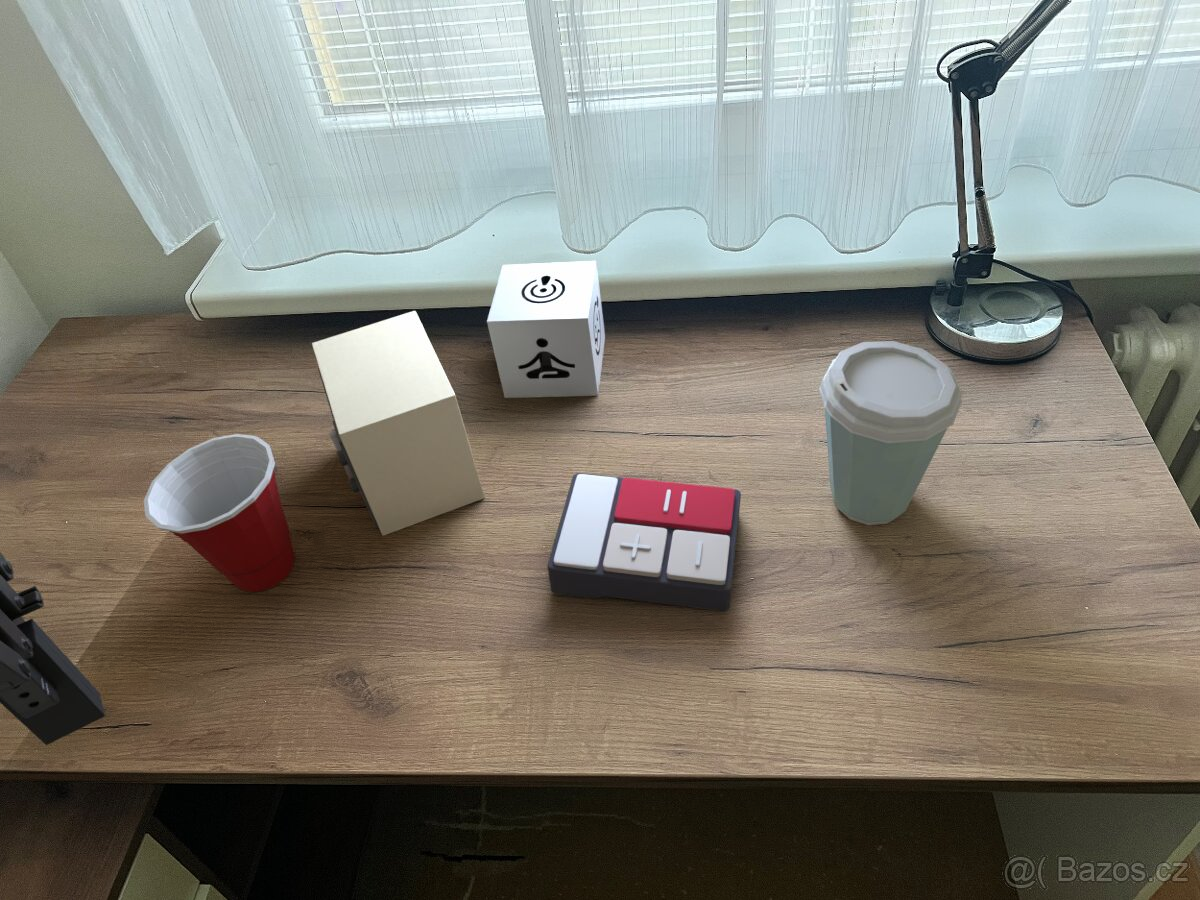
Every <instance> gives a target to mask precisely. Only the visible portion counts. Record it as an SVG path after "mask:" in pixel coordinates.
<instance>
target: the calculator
mask: <svg viewBox="0 0 1200 900" xmlns="http://www.w3.org/2000/svg"><path fill="white" fill-rule="evenodd" d="M741 493H742V492H741V491H740V490H739V489H736V488H730V487H722V486H712V485H702V484H693V483H683V482H675V481H664V480H653V479H645V478H635V477H620V476H611V475H603V474H602V475H601V474H593V473H582V472H575V473H574V474H573V475H572V478H571V482H570V485H569V488H568V492H567V495H566V500H565V503H564V506H563V510H562V513H561V517H560V520H559V523H558V527H557V531H556V534H555V538H554V541H553V544H552V547H551V552H550V555H549V559H548V563H547V573H548V580H549V585H550V591H551V593H553V594H554V595H560V596H561V595H562V596H568V597H577V598H584V599H590V600H591V599H592V600H594V599H597V598H602V597H607V598H615V599H622V600H623V599H624V600H631V601H632V600H633V601H639V602H646V603H647V602H649V603H654V604H661V605H671V606H678V607H687V608H694V609H701V610H702V609H703V610H710V611H718V612H727V611H728V610H729V609H730V605H731V599H732V586H733V577H734V567H735V558H736V557H735V556H736V547H737V537H738V529H739V518H740V510H741V509H740V508H741V496H742V494H741Z"/></svg>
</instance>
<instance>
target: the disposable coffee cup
mask: <svg viewBox="0 0 1200 900" xmlns="http://www.w3.org/2000/svg"><path fill="white" fill-rule="evenodd" d="M818 389H819V393H820V397H821V400H822V403H823V406H824V418H825V419H824V421H825V432H826V444H827V447H826V448H827V459H828V470H829V471H828V472H829V486H830V492H831V495H832V498H833V502H834V504H835V506H836V508H837V509H838V510H839V511H840V512H841V513H842V514H844V516H845V517H846V518H847V519H848V520H851V521H854V522H856V523H860V524H863V525H865V526H877V525H878V526H879V525H887V524H889V523H891V522H892V521H894V520H896V519H898V518H899V517H901V516H902V514H904V513H905V512H907V510H908V507H909V505H910V503H911V502H912V500H913V497H914V495H915V493H916V491H917V490H918V488H919V485H920V484H921V482H922V480H923V478H924V476H925V474H926V472H927V469H929V466H930V464H931V461H932V459H933V458H934V456H935V454H936V452H937V449H938V448H939V446H940V444H941V442H942V440H943V438H944V436H945V435H946V432H947V430H948V429H949V428H950V427H952V426H953V425H954V423H955V421H956V419H957V415H958V413H959V410H960V407H961V405H962V402H963V400H962V396H963V392H962V389H961V387H960V385H959V383H958V380H957V378H956V376H955V374H954V372H953V370H952V368H950V367H949V366H948V365H947V364H945V362H942V361H941V360H940V359H939V358H936V357H935V356H934V355H932V354H931V353H930V352H928V351H927V350H925V349H924V348H921V347H916V346H913V345H911V344H910V345H909V344H907V343H902V342H899V341H894V340H881V341H878V340H877V341H862V342H860V343H858V344H855V345H852V346H850V347H848V348H846V349H844V350H841V351H839V352H838V353H837V356H836V357H835V358H834V359H832V361H831V363H830V365H829V367H828V369H827V371H826V373H825V374H824V376H823V378H822V380H821V384H820V387H819V388H818Z"/></svg>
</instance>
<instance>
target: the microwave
mask: <svg viewBox="0 0 1200 900" xmlns="http://www.w3.org/2000/svg"><path fill="white" fill-rule="evenodd" d="M311 346H312V350H313V352H314V356H315V358H316V363H317V366H318V368H317V370H318V373H319V377H320V381H321V383H322V386H323V390H324V394H325V397H326V400H327V403H328V406H329V409H330V413H331V417H332V425H333V428H334V429H331V431H330V432H329V436H330V439H331V441H332V443H333V446H334V448H335V450H336V455H337V458H338V461H339V463H340V465H341V467H343V468H344V471H345V472H346V475H347V477H348V482H349V484H350V487H351V491H352V492H353V494H359V493H360V495H361V498H362V500H363V502H364V503H365V507H366V509H367V511H368V514H369V516H370V518H371V520H372V522H373V525H374V527H375V528H376V529H377V528H378V529H379V532H380V533H381V536H383V537H384V536H386V535H389V534H392V533H395V532H398V531H400V530H402V529H405V528H408V527H411V526H414V525H416V524H418V523H423V522H425V521H427V520H429V519H430V520H431V519H433V518H435V517H437V516H440V515H443V514H445V513H448V512H451V511H455V510H456V509H459V508H461V507H464V506H467V505H470V504H473V503H476V502H478V501H481V500H484V499H485V494H484V490H483V486H482V483H481V480H480V476H479V473H478V469H477V465H476V462H475V460H474V455H473V452H472V448H471V445H470V444H471V443H470V441H469V437H468V434H467V430H466V428H465V427H466V426H465V424H464V420H463V417H462V414H461V410H460V406H459V403H458V399H457V396H456V394H455V391H454V389H453V387H452V385H451V383H450V381H449V379H448V377H447V374H446V372H445V370H444V368H443V366H442V363H441V362H440V359H439V357H438V356H437V353H436V352H435V349H434V347H433V345H432V343H431V341H430V338H429V337H428V334H427V332H426V329H425V328H424V326H423V323H422V322H421V320H420V317H419V315H418V313H417V311H416V310H412V311H409V312H405V313H403V314H400V315H397V316H393V317H390V318H387V319H383V320H380V321H378V322H374V323H371V324H368V325H365V326H361V327H359V328H356V329H352V330H349V331H346V332H343V333H339V334H336V335H333V336H330V337H327V338H324V339H320V340H318V341H314V342H312V343H311Z"/></svg>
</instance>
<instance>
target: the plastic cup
mask: <svg viewBox="0 0 1200 900" xmlns="http://www.w3.org/2000/svg"><path fill="white" fill-rule="evenodd" d="M275 465H276V462H275V459H274V455H273V452H272V448H271V445H270V444H269V443H267V442H266V441H265V440H263V439H261V438H260V437H258V436H257V435H249V434H241V433H234V434H228V435H224V436H218V437H213V438H210V439H208V440H206V441H204V442H201V443H198V444H197V445H194V446H192V447H189V448H188V449H187V450H185V451H184V452H182V453H180V455H178V456H177V457H175V458H174V459H172V460H171V461H170V462H168V463H167V464H165V466H164V467H163V468H162V470H161V471H160V472H159V473H158V474H157V475H156V476H155V477H154V478H153V480H152V481H151V482H150V485H149V487H148V490H147V492H146V494H145V497H144V499H143V507H144V515H145V518H146V519H147V520H149V521H150V522H151V523H152V524H153V525H154V526H155V527H156V528H158V529H159V530H161V531H165V532H169V533H172V535H174V536H175V537H178V538H180V539H181V540H182V541H183V542H184V543H187V544H188V545H189V546H190V547H191V548H192V549H193V550H194V551H196V552H197V553H198V554H199V555H200V556H201V557H202V558H203V559H205V561H206V562H207V563H208V564H209V565H211V566H212V567H213V568H214V569H215V570H216V571H217V572H218V573H220V574H222V575H223V576H224V577H225V578H226V579H227V580H228V581H229V582H230V583H231V584H232V585H234V586H235V587H236V588H238V589H240V590H241V591H244V592H249V593H256V592H264V591H267V590H269V589H272V588H273V587H276V586H278V585H279V584H280V583H281V582H282V581H284V580H285V579H286V578H287V577H288V576H289V574H290V573H291V572H292V570H293V568H294V565H295V561H296V556H295V555H296V552H295V549H294V546H293V541H292V539H291V536H290V535H291V531H290V527H289V524H288V521H287V518H286V514H285V510H284V507H283V504H282V500H281V496H280V494H279V486H278V484H277V478H276V475H275V470H274V469H275Z"/></svg>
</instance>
